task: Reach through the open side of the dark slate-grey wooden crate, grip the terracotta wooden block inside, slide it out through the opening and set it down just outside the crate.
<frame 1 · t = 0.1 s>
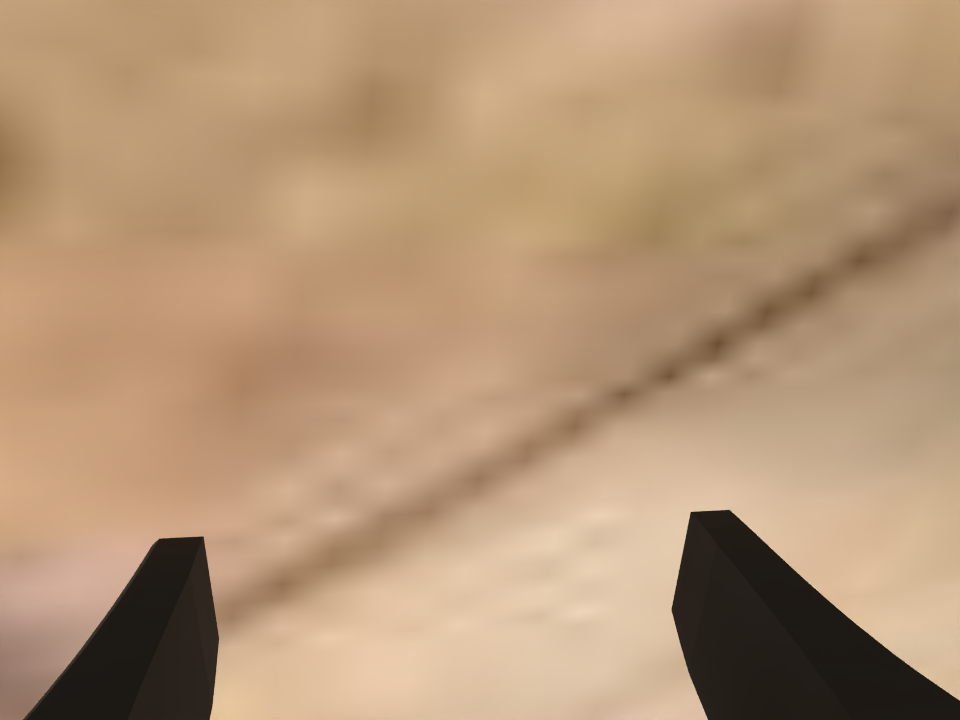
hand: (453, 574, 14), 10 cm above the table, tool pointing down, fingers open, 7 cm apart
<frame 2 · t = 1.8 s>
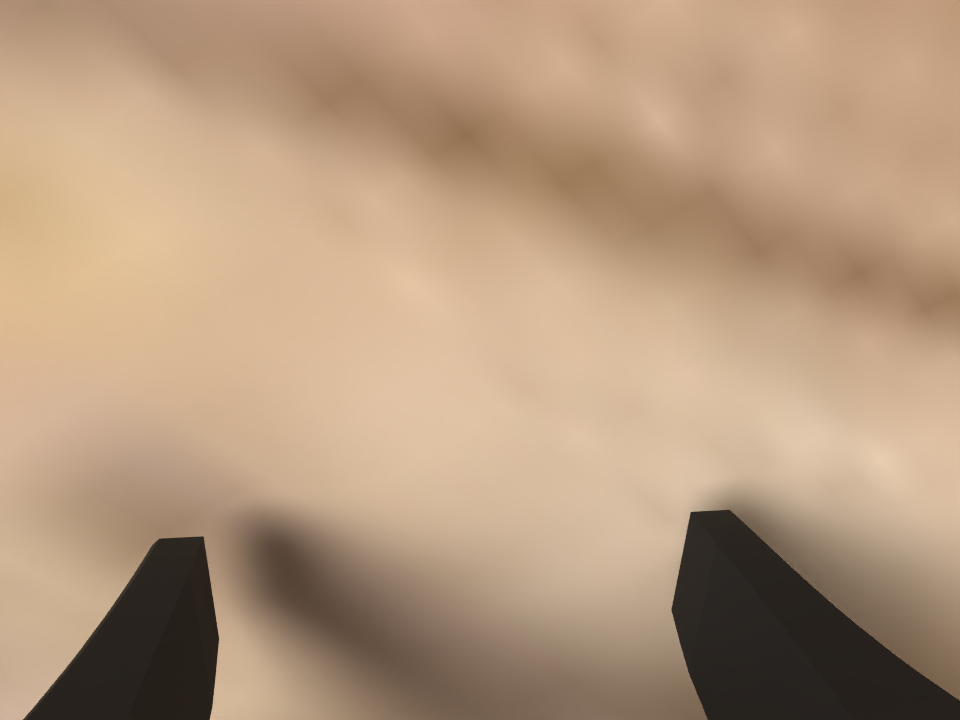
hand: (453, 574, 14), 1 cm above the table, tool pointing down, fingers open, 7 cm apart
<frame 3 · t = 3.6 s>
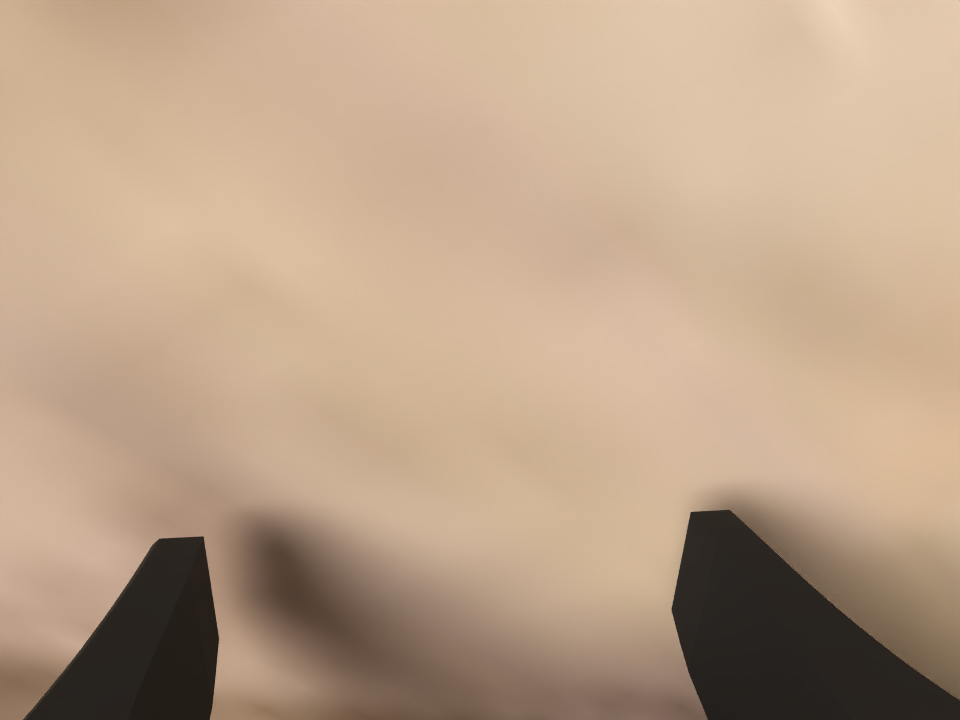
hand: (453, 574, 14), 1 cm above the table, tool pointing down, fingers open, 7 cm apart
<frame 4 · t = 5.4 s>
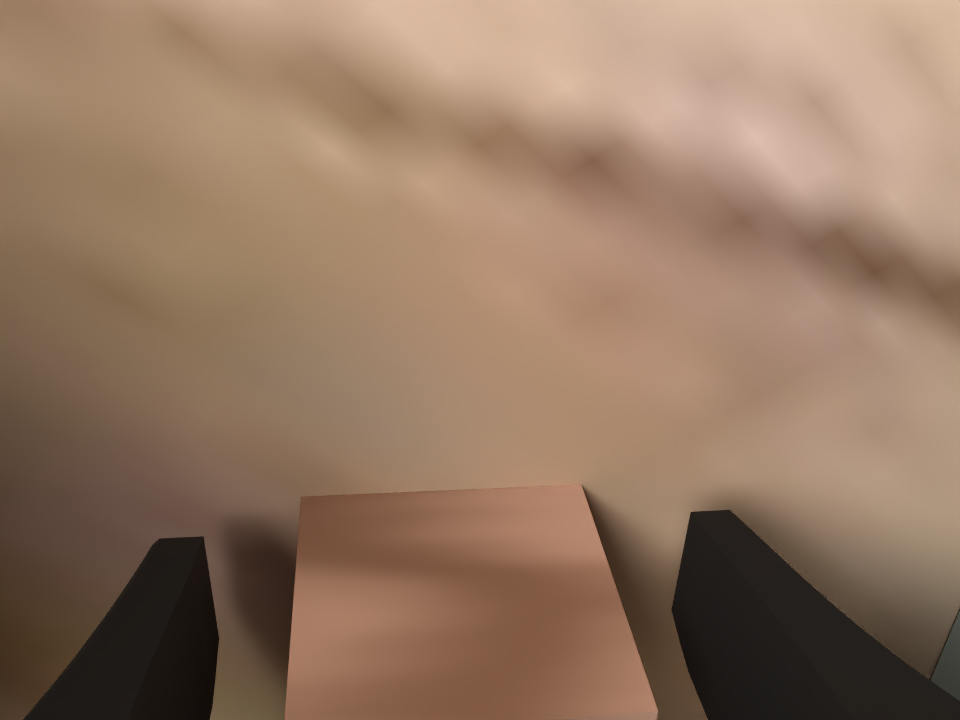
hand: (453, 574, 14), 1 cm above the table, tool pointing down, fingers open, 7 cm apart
terracotta block: (440, 590, 16), on the table
open-side crate: (442, 551, 15), on the table
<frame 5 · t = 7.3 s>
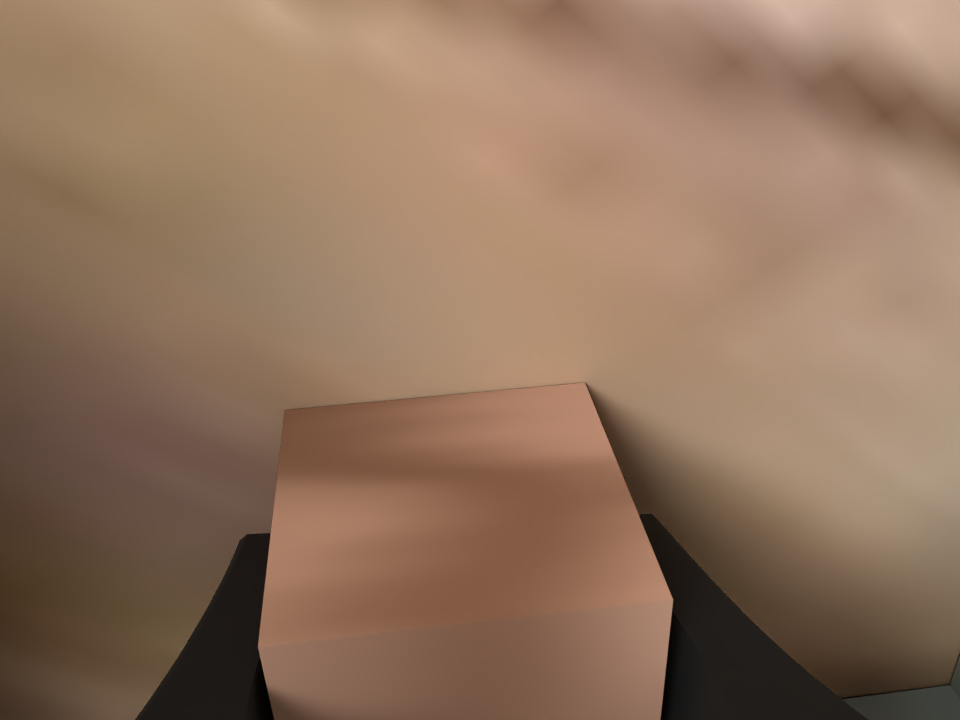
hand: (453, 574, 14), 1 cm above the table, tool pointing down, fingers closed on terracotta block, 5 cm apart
terracotta block: (444, 512, 15), on the table, touching gripper
open-side crate: (440, 463, 14), on the table
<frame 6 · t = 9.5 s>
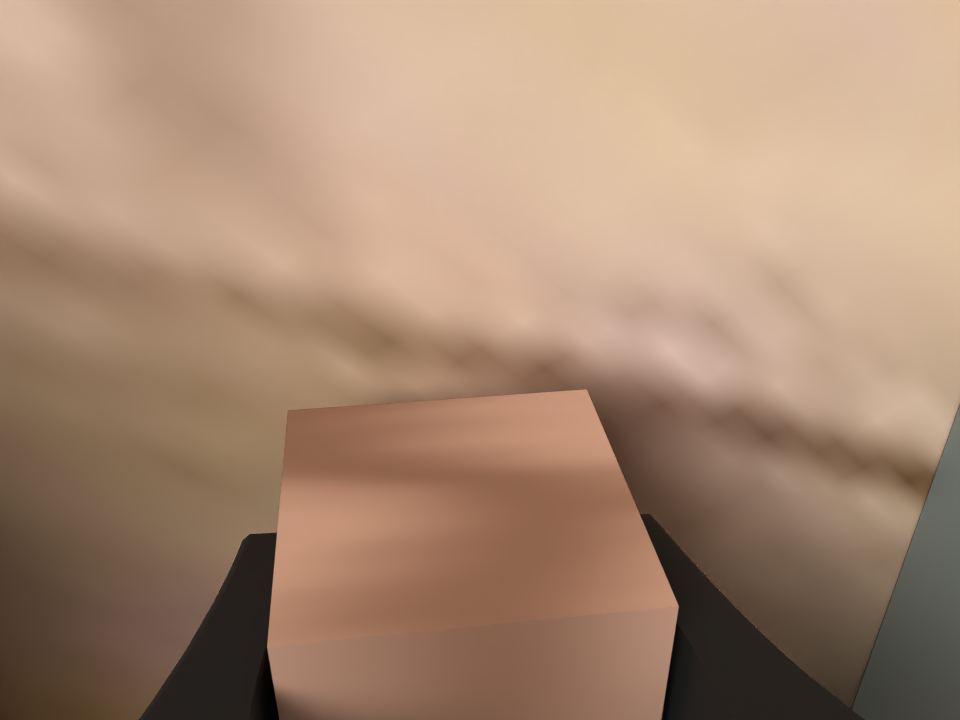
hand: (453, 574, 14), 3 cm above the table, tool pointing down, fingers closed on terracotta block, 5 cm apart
terracotta block: (442, 515, 15), point 2 cm above the table, touching gripper
open-side crate: (435, 646, 19), on the table
when the fingers open (2 cm above the table, at t = 11.8 s): terracotta block drops 1 cm, on the table.
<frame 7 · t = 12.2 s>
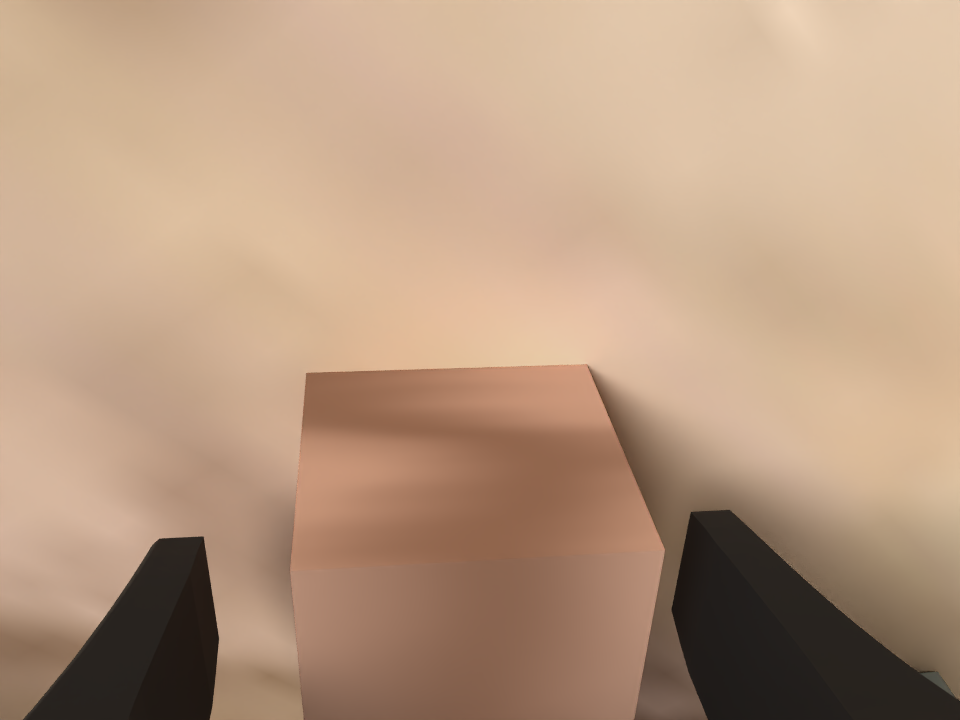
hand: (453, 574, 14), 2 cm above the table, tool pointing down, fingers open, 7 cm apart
terracotta block: (446, 477, 16), on the table
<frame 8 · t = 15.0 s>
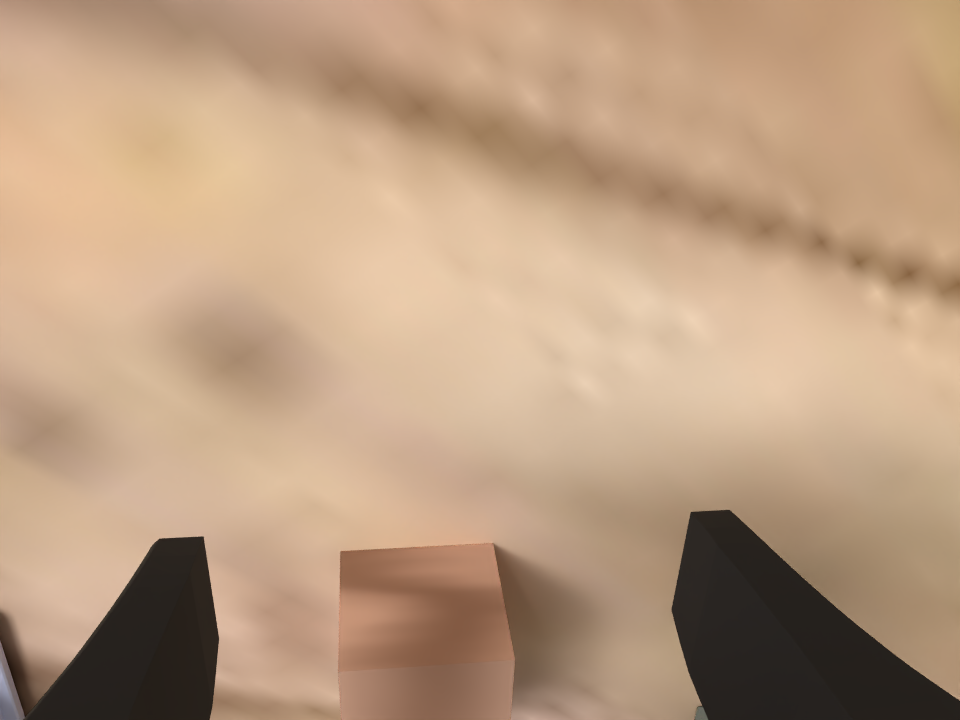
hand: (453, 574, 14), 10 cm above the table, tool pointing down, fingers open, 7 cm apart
terracotta block: (417, 600, 28), on the table
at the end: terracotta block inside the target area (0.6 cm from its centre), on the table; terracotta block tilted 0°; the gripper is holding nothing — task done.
